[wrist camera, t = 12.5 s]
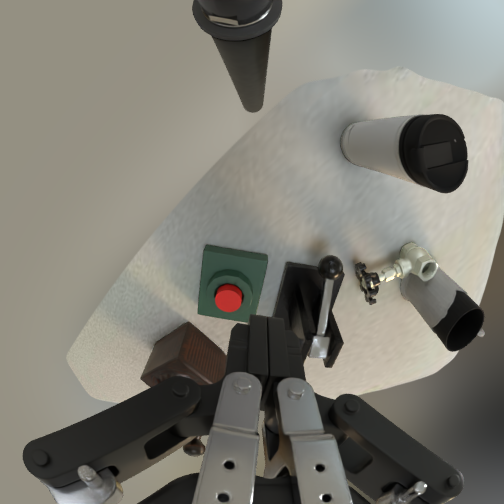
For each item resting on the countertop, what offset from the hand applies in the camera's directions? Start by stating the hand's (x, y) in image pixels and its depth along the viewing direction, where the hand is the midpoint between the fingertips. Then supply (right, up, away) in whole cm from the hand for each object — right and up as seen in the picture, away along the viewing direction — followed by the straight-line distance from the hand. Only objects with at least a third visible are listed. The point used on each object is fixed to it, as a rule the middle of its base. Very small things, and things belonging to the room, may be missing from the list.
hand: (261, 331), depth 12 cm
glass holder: (+32, -2, +30) cm, 44 cm away
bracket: (+8, -4, +31) cm, 32 cm away
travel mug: (+14, +18, +21) cm, 32 cm away
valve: (+21, +2, +28) cm, 35 cm away
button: (-4, -3, +26) cm, 27 cm away
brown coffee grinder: (-11, -17, +37) cm, 42 cm away
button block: (-4, -1, +30) cm, 30 cm away
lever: (+9, -3, +23) cm, 24 cm away
